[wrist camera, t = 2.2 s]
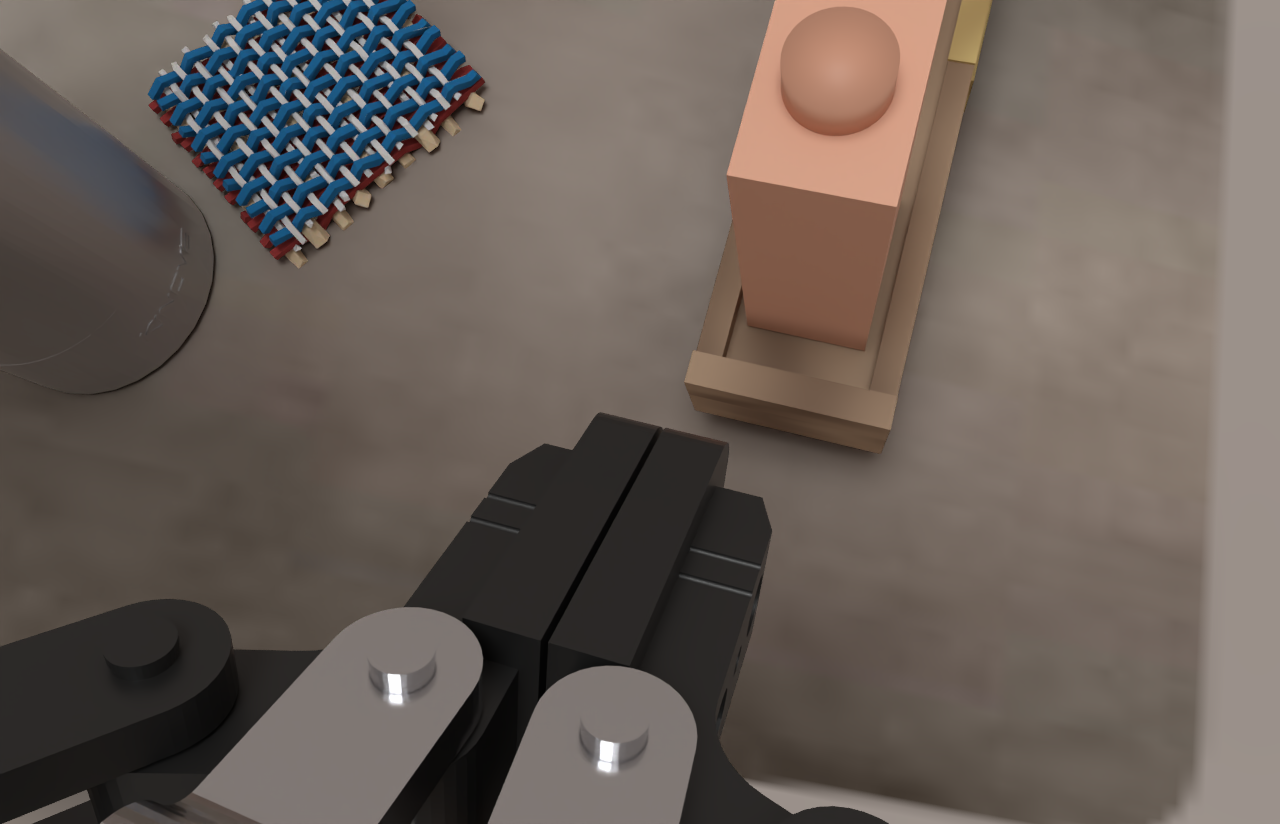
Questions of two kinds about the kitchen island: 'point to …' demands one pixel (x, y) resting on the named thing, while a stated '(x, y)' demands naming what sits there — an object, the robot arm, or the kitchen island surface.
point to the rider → (827, 160)
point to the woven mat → (312, 108)
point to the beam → (869, 380)
